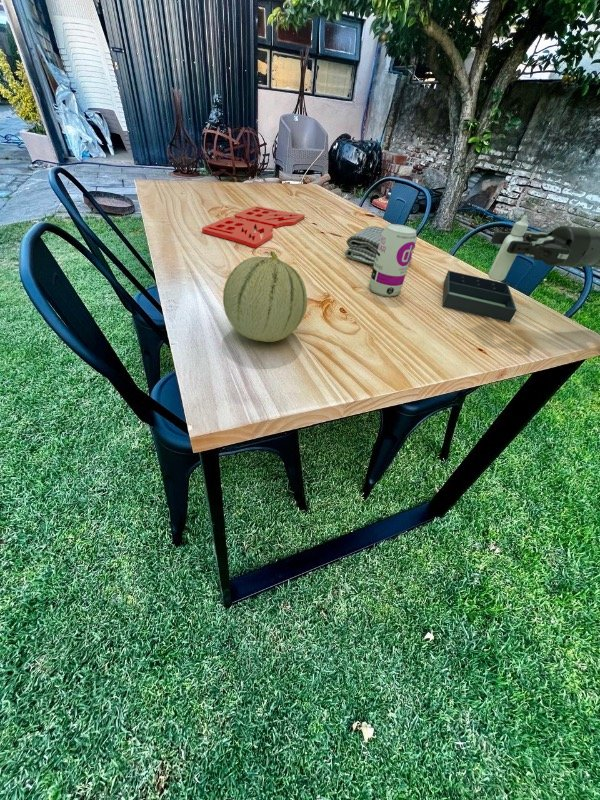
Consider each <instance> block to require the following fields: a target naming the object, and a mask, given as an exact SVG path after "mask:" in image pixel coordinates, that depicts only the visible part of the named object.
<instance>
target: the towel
mask: <svg viewBox="0 0 600 800" xmlns="http://www.w3.org/2000/svg"><path fill="white" fill-rule="evenodd" d="M384 229H385V227H384V228H383V227H379V226H373V225H372V226H368V227H365V228H363V229H361V230H359V231H358V232H356V233H354V234H353V235H351V236H349V237H348V238H347V240H346V245H347V249H346V250H345V252H344V256H345V257H347V258H348V259H350V260H353V261H356V262H361V263H364V264H368V265H371V266H374V262H375V258H376V254H377V250H378V246H379V242H380V238H381V234H382V232H383V230H384ZM415 248H416V246H415V247H414V249H415ZM413 253H414V250H413ZM412 260H413V255H412V256H411V259H410V262H411V261H412Z"/></svg>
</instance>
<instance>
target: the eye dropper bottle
mask: <svg viewBox="0 0 600 800" xmlns="http://www.w3.org/2000/svg"><path fill="white" fill-rule="evenodd" d="M528 217H529V216H528V215H526V214H525V215H523V216H522V218H521V219H520V220H519V221H516V222H514V224H513V226H512V228H511V229H512V231H511V234H510V235H508V236H507V237H506V238H505V239H504V241H503V244H501V246H500V248H499V250H498V252H497V253H496V257H495V258H494V261H493V263H492V265H491V267H490V269H489V271H488V273H487V277H488V278H489V280H493V281H498V282H501V281H502V282H503V281H504V280H505V279H506V278H507V275H508V273H509V271H510V269H511V267H512V265H513V263H514V261H515V260H516V258H517V255H518V254H511V253H508V252H507V249H508V247H509V244H510V242H511V241H523V237H522V236H524V234H525V232H526V230H527V229H529V224H528V223H527V221H528Z"/></svg>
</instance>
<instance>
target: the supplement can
mask: <svg viewBox="0 0 600 800" xmlns="http://www.w3.org/2000/svg"><path fill="white" fill-rule="evenodd" d="M417 235H418V234H417V230H416V229H415V228H413V227H411V226H407V225H403V224H397V223H390V224H387V225H386V226H385V227H384V230H383V232H382V234H381V238H380V242H379V246H378V250H377V254H376V258H375V262H374V265H372V266H373V267H372V270H371V275H370V278H369V283H368V287H369V288H370V291H371V292H373V293H374V294H375V295H378V296H381V297H387V298H390V297H391V298H392V297H396V296H397V295H399V294H401V291H402V288H403V285H404V282H405V278H406V276H407V272H408V268H409V266H410V263H411V261H410V259H411V256H412V257H413V254H414V252H413V251H414V250H415V248H416V244H417V240H418V237H417ZM414 247H415V248H414Z"/></svg>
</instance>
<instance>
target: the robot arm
mask: <svg viewBox="0 0 600 800" xmlns="http://www.w3.org/2000/svg"><path fill="white" fill-rule="evenodd" d="M512 229H513V228H509V229H508V230H507V231H498V230H497V231H495V232H494V233H493V235H492V237H491V240H490V243H492V244H494V245H502V244H503V241H504V239H505V238H506V237H507V236H508V235H510V234H511V231H512ZM522 237H523V241H511V242H510V244H509V247H508V249H507V252H508V253H511V254H517V255H524V256H526V257H531V258H532V259H533V260H535V261H542V262H543V263H544V264H545V265H547V266H550V267H551V266H552V267H568V268H585V267H587V268H600V229H597V228H593V227H582V226H570V225H561V226H558V227H555V228H554V229H552V230H551V231H549V233H548V232H544V231H537V232H536V231H532V230H531V229H530V228H527V230H526V232H525V234H524V236H522Z"/></svg>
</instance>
